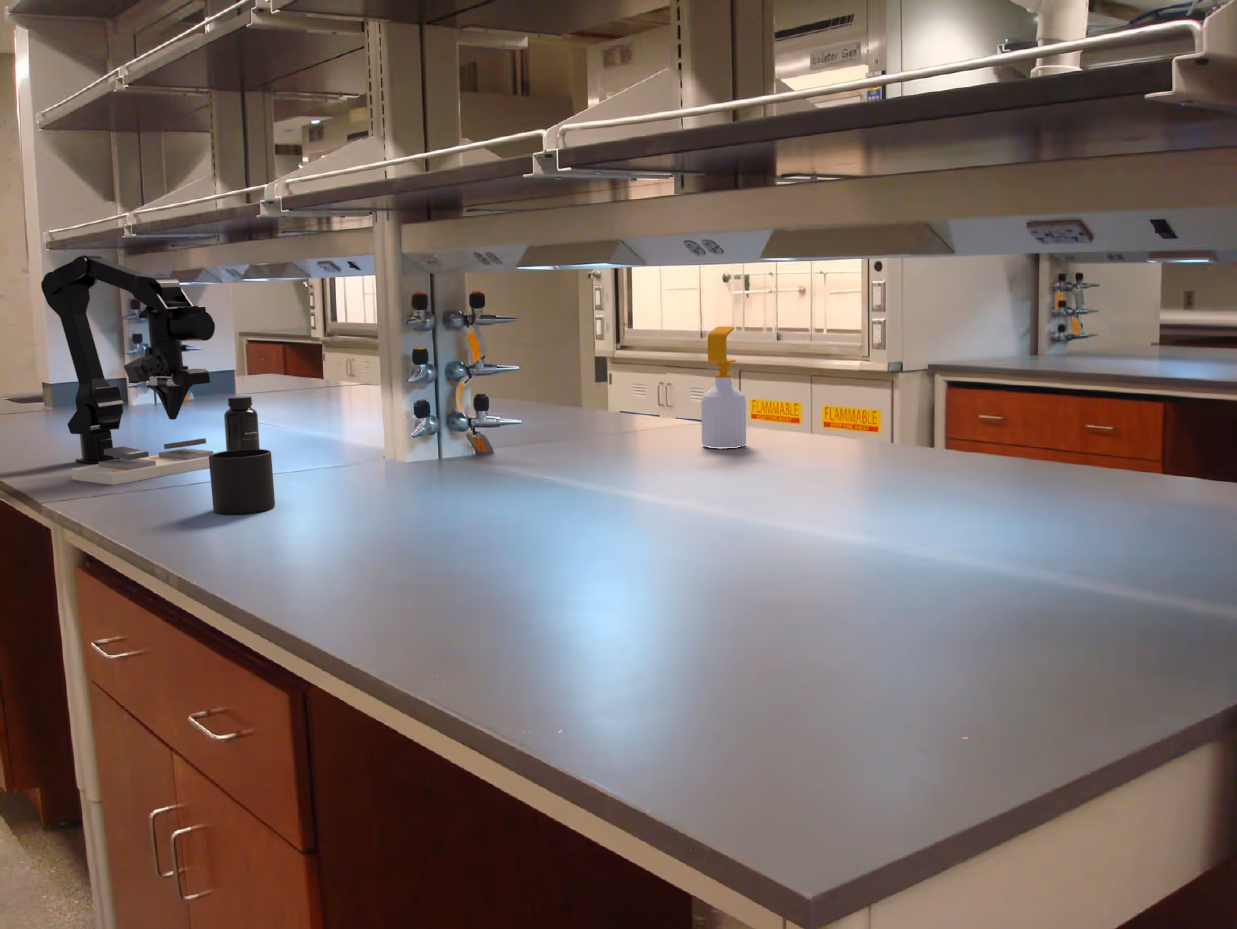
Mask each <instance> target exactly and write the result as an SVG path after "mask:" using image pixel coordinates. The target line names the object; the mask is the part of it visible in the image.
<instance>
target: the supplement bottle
mask: <svg viewBox="0 0 1237 929" xmlns="http://www.w3.org/2000/svg"><path fill="white" fill-rule="evenodd" d="M252 405H253V400H252V396H250V395H249V396H246V395H245V396H242V395H241V396H230V397H228V398H227V407H229V408H228V410H226V411H225V412H224V415H223V418H224V433H225V436H224V438H225V446H226V448H225V449H226V450H225V451H230V450H241V449H261V447H260V431H259V417H258V416H259V415H258V412H257V410H255V409H254V408H253V407H252Z"/></svg>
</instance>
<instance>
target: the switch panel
mask: <svg viewBox="0 0 1237 929" xmlns="http://www.w3.org/2000/svg"><path fill="white" fill-rule="evenodd" d="M214 453H215V452H214V451H213V450H204V449H195V448H186V447H185V448H183V447H182V448H176V449H172V450H165V451H159V452H158V454H156V455H155V454H154V455H151V456H150V455H149V457H145V458H139V459H133V460H127V459H122V458H121V459H115V460H108V461H102V462H98V464H95V465H90V466H89V465H88V466H82V467H76V468H71V477H72V478H71V479H72V480H73V481H81V482H88V483H96V484H103V485H109V486H110V485H111V486H114V485H123V484H126V483H127V484H128V483H132V482H138V481H142V480H149V479H154V478H160V477H165V476H171V475H177V474H183V473H188V472H193V471H197V470H199V471H200V470H204V468H205V469H210V466H209V455H211V454H214Z"/></svg>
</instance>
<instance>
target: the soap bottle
mask: <svg viewBox="0 0 1237 929" xmlns="http://www.w3.org/2000/svg"><path fill="white" fill-rule="evenodd" d="M734 330H735V327H734V326H716V327H715V328H714V329H712V330H711V331H709V333H708V335H707V360H708V363H710V364H711V363H712V364H715V363H716V365H715V366H716V368H718V369H719V370H718V373H717V374H715V375H714V377H715V378H714V386H713V387H712V388H710V389H709V390H707V391H706V392H705V393H703V395H702V397H701V402H700V403H701V404H700V407H701V411H700V412H701V445H702V444H703V445H706V446H711V447H737V446H742V445H744V444H746V445H747V405H746V404H747V399H746V396H745V394H744V393H743V392H742V391H741V390H739V389H738V388H736V387H735V386H733V385H732V374H730V373H728V368H730V367H731V364H732V363H736V361H737V360H736V359H728V358H727V339H728V336H729V335H730V333H732V332H734Z"/></svg>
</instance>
